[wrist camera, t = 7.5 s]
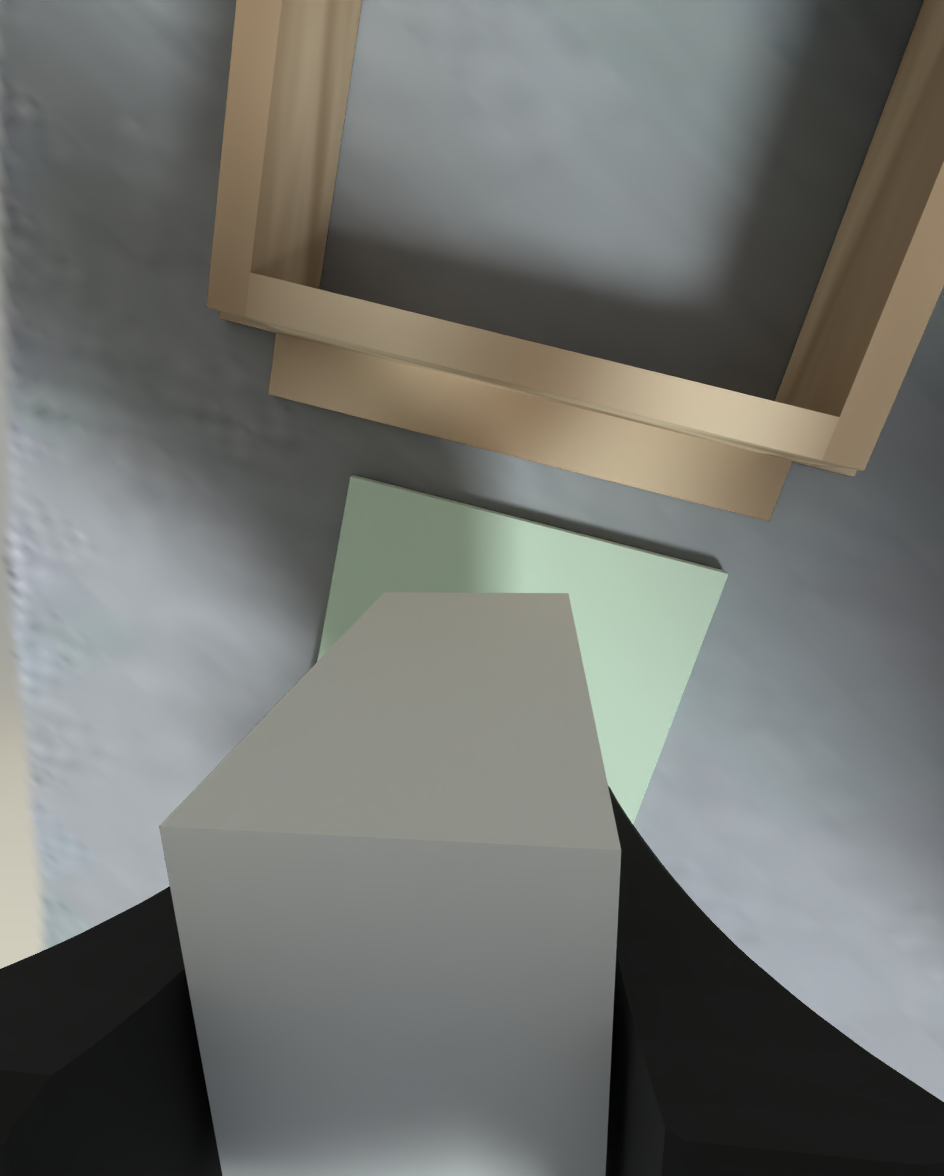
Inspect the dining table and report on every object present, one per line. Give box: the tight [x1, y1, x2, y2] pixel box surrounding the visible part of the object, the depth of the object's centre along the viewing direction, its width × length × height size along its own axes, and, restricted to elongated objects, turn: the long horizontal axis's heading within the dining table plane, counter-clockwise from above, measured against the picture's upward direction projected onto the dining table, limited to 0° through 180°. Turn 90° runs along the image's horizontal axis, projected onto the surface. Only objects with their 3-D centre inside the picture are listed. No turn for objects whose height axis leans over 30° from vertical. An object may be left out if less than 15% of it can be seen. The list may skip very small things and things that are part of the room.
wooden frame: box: [206, 0, 944, 521], centre depth 11 cm, size 16×17×4 cm
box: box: [159, 592, 621, 1176], centre depth 10 cm, size 4×7×8 cm, turn 1°
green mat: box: [317, 475, 729, 824], centre depth 17 cm, size 10×10×1 cm
